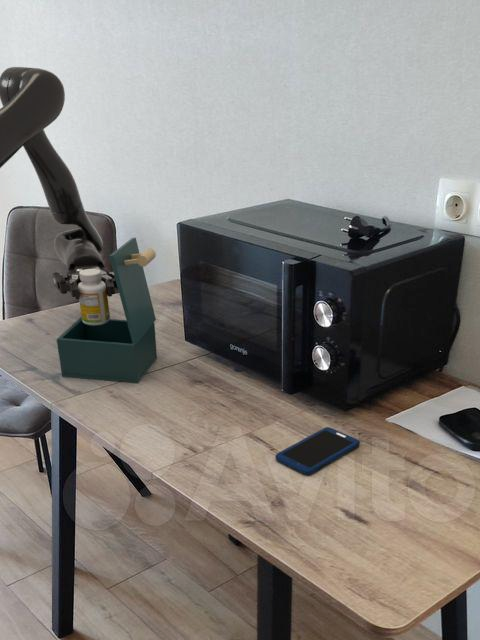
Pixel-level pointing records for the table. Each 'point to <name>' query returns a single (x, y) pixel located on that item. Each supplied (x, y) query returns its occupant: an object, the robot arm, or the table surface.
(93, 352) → the dark green rectangular box
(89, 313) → the supplement bottle
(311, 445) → the cell phone
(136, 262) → the green box lid
